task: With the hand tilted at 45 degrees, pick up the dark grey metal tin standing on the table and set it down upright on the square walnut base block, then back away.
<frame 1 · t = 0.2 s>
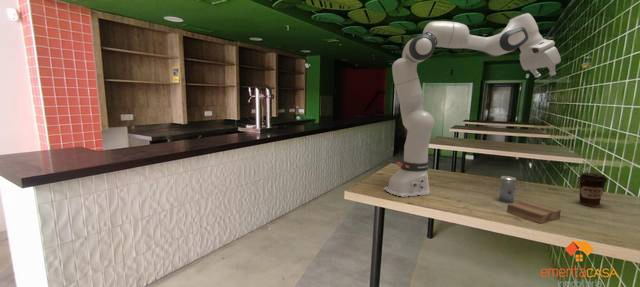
hand: (545, 76, 131), 54 cm above the table, tool tilted 30°, fingers open, 8 cm apart
base block: (532, 214, 111), on the table
tin: (506, 200, 126), on the table
coffee cup: (589, 205, 120), on the table
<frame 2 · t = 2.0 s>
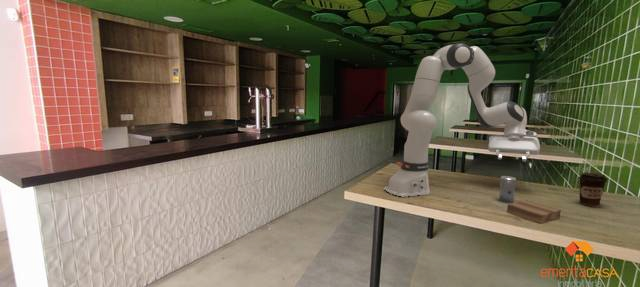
hand: (511, 159, 133), 16 cm above the table, tool tilted 45°, fingers open, 8 cm apart
nothing on the table moved.
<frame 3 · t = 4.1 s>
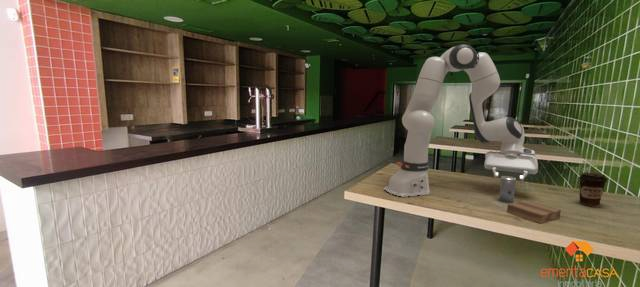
hand: (508, 178, 128), 9 cm above the table, tool tilted 45°, fingers open, 8 cm apart
nothing on the table moved.
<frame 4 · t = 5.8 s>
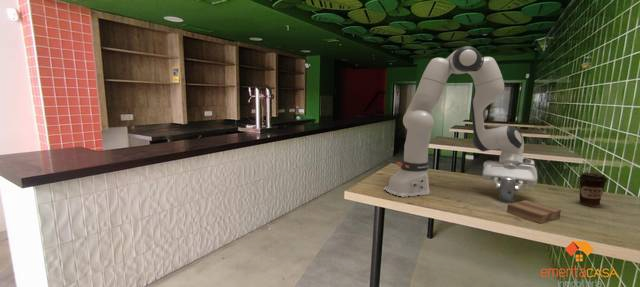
hand: (507, 189, 124), 5 cm above the table, tool tilted 45°, fingers closed on tin, 5 cm apart
tin: (506, 200, 126), on the table, touching gripper
everything else where it was.
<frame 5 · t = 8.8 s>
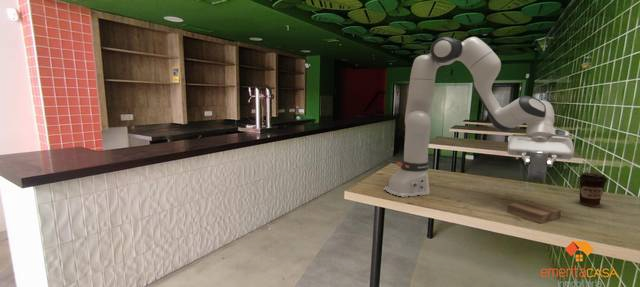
hand: (538, 164, 108), 20 cm above the table, tool tilted 45°, fingers closed on tin, 5 cm apart
tin: (536, 178, 109), point 14 cm above the table, touching gripper
everything else where it was.
when the fingers open (10 cm above the table, at t = 11.6 s): tin drops 1 cm, resting on base block.
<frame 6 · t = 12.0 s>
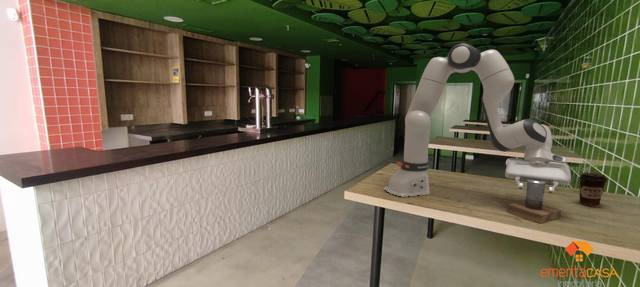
hand: (535, 190, 109), 10 cm above the table, tool tilted 45°, fingers open, 8 cm apart
tin: (533, 207, 110), point 3 cm above the table, touching base block
everything else where it was.
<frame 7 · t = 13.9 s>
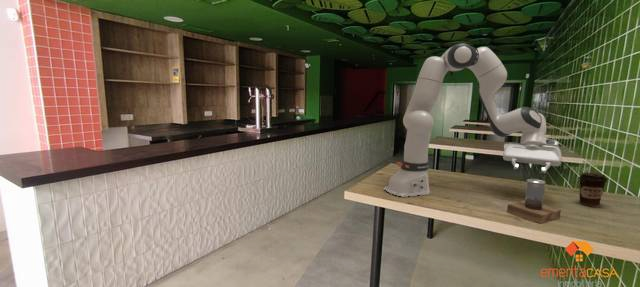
hand: (529, 170, 121), 14 cm above the table, tool tilted 45°, fingers open, 8 cm apart
nothing on the table moved.
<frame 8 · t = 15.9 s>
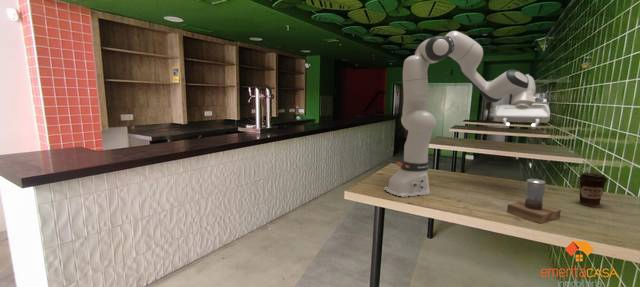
hand: (519, 127, 126), 31 cm above the table, tool tilted 45°, fingers open, 8 cm apart
nothing on the table moved.
at the end: tin inside the target area on the base block (0.1 cm from its centre), point 3.0 cm above the base block's base; tin tilted 0°; the gripper is holding nothing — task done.
